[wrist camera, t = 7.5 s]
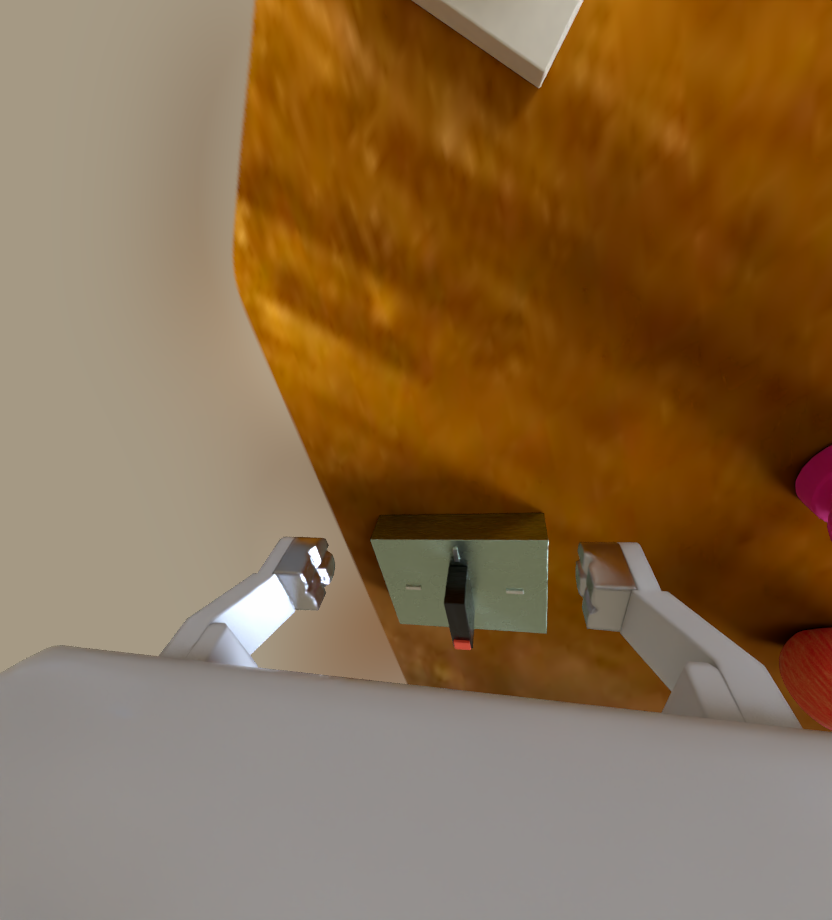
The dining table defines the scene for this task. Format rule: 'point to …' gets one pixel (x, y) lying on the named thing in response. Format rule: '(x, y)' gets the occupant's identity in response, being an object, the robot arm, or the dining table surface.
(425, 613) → the panel
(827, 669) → the apple
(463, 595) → the black switch lever
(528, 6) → the button block
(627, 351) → the dining table surface
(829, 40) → the dining table surface
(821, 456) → the pepper mill
